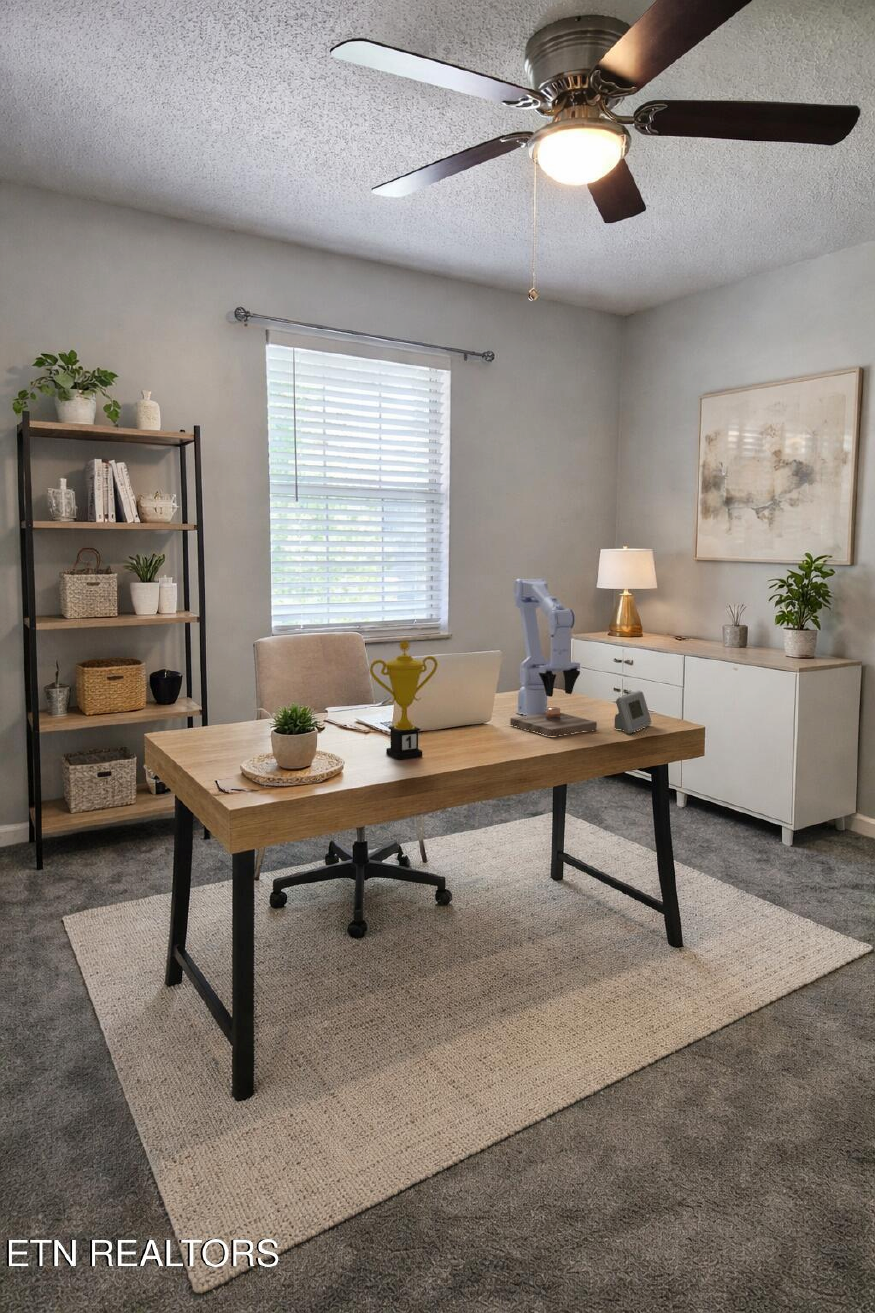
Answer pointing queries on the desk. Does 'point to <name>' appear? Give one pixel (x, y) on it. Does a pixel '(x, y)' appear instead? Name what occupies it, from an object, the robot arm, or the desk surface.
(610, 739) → the desk surface
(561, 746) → the desk surface
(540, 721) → the block
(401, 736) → the trophy
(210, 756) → the desk surface
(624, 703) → the digital clock
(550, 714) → the plunger
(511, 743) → the desk surface
